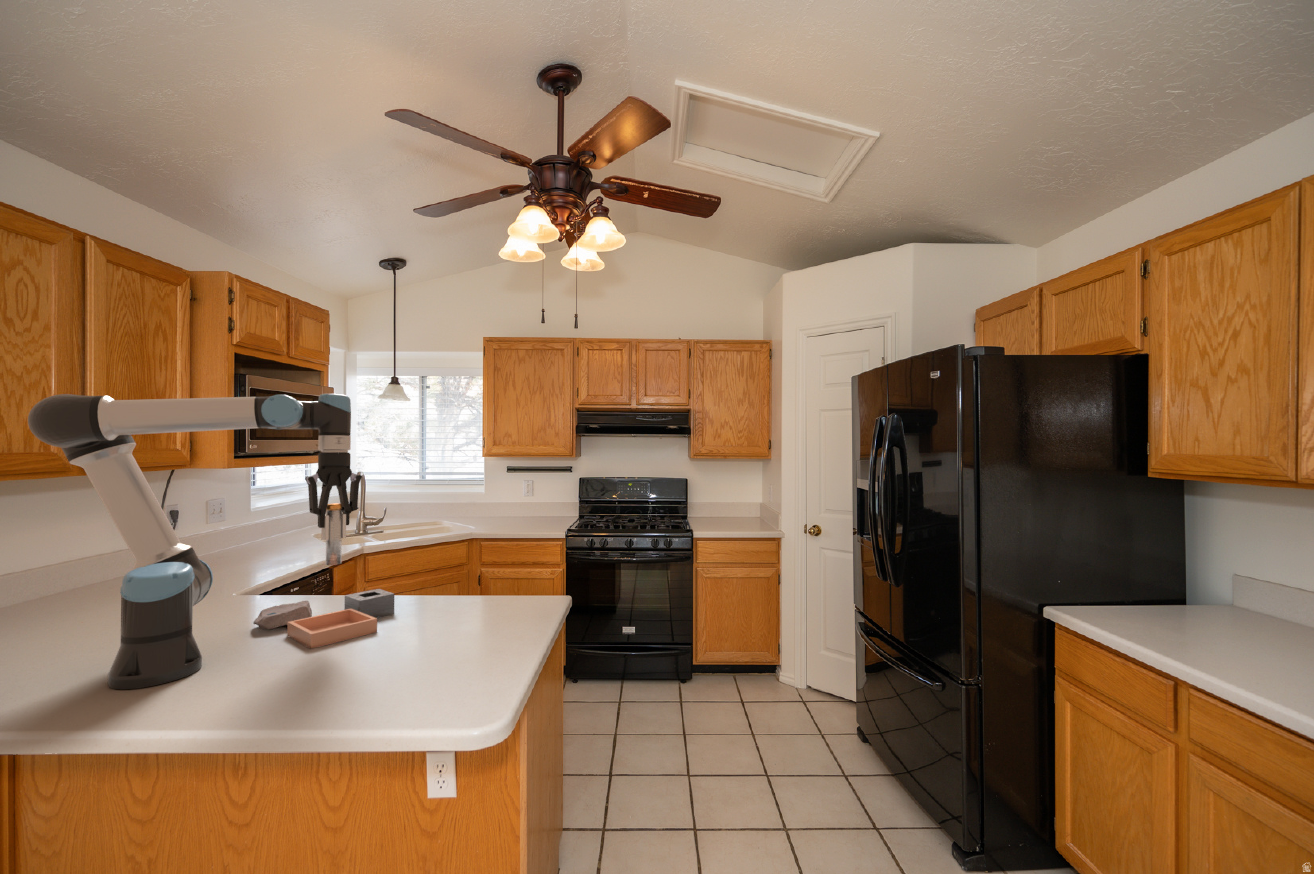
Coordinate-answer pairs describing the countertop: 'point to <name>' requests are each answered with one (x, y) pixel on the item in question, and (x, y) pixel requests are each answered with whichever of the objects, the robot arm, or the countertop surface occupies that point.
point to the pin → (334, 534)
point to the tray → (331, 627)
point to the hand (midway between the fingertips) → (333, 538)
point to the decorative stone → (283, 614)
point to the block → (371, 602)
